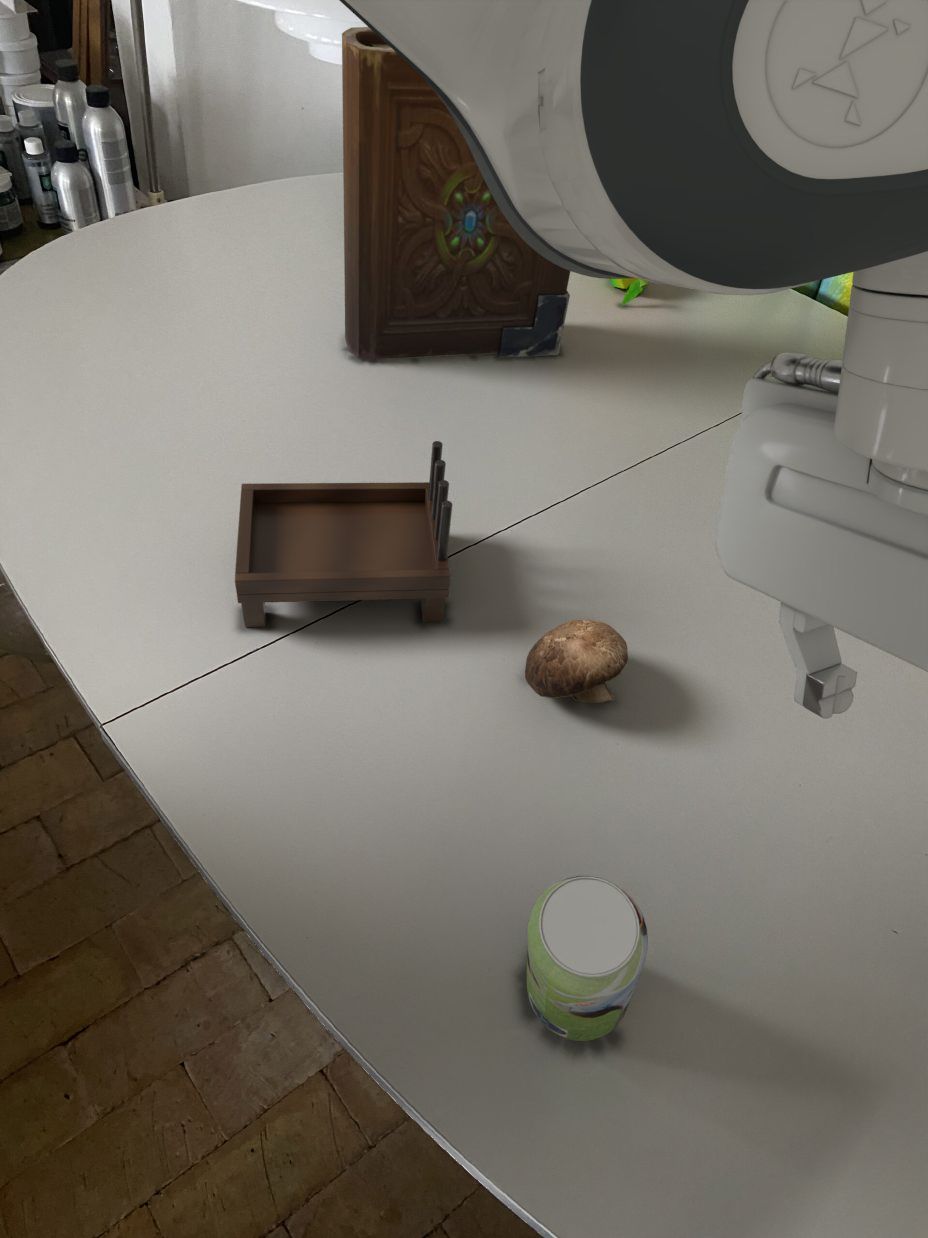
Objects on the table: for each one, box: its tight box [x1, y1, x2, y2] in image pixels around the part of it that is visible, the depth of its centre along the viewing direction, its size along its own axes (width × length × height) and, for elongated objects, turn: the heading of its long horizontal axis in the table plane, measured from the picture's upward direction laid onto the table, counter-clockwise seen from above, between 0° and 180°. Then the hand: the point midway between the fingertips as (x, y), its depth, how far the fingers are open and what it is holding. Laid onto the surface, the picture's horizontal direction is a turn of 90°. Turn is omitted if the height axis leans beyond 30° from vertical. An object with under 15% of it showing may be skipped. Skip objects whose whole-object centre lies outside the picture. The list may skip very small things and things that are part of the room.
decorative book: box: [341, 26, 571, 360], centre depth 87 cm, size 23×7×30 cm, turn 104°
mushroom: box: [524, 618, 629, 704], centre depth 65 cm, size 8×8×6 cm
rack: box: [234, 440, 453, 628], centre depth 69 cm, size 16×11×11 cm
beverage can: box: [526, 875, 649, 1042], centre depth 47 cm, size 6×7×12 cm
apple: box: [609, 278, 649, 307], centre depth 108 cm, size 7×6×9 cm
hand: (921, 765), depth 32 cm, fingers open, 8 cm apart
